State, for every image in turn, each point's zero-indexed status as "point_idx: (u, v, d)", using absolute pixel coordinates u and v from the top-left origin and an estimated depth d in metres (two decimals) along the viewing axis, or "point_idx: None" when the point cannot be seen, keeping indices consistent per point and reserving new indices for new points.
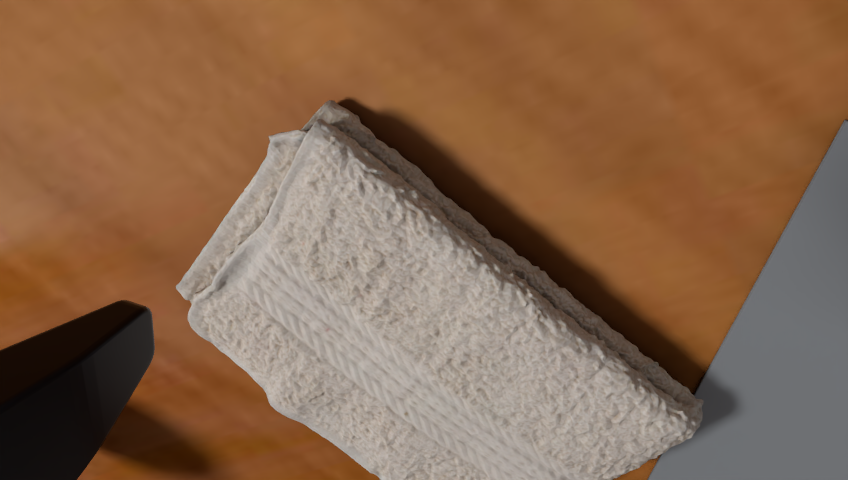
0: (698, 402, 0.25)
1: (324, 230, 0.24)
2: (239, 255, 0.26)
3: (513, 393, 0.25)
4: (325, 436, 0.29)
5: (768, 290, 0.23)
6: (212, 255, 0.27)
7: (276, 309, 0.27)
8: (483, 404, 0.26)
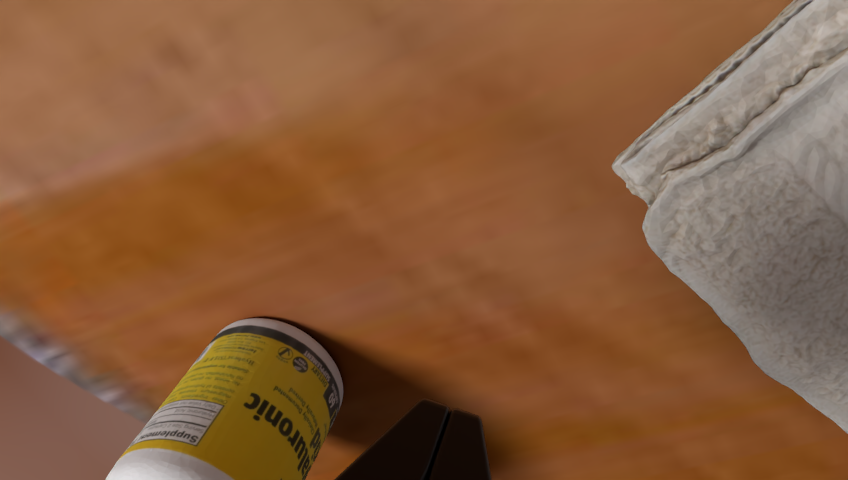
0: None
1: None
2: (819, 87, 0.14)
3: None
4: (829, 413, 0.18)
5: None
6: (734, 97, 0.15)
7: (842, 191, 0.15)
8: None
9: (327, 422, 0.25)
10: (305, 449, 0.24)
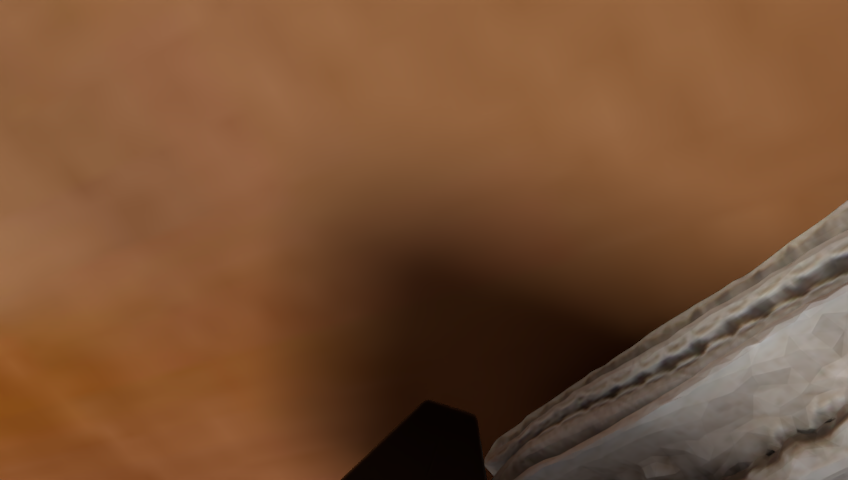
0: None
1: None
2: None
3: None
4: None
5: None
6: (688, 431, 0.08)
7: None
8: None
9: None
10: None
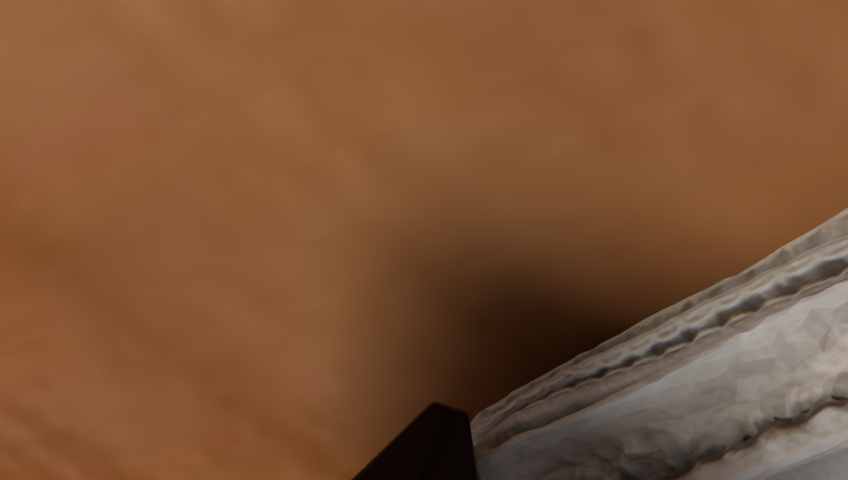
0: None
1: None
2: (841, 451, 0.07)
3: None
4: None
5: None
6: (672, 411, 0.08)
7: None
8: None
9: None
10: None
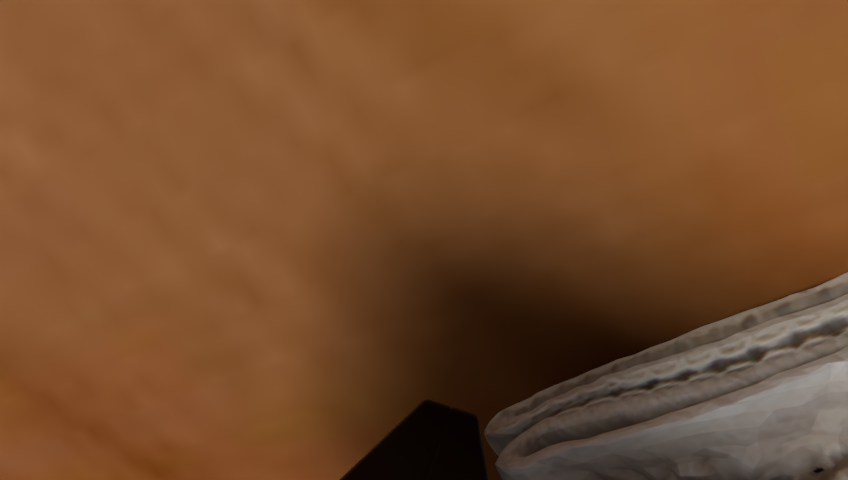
0: None
1: None
2: None
3: None
4: None
5: None
6: (741, 436, 0.07)
7: None
8: None
9: None
10: None
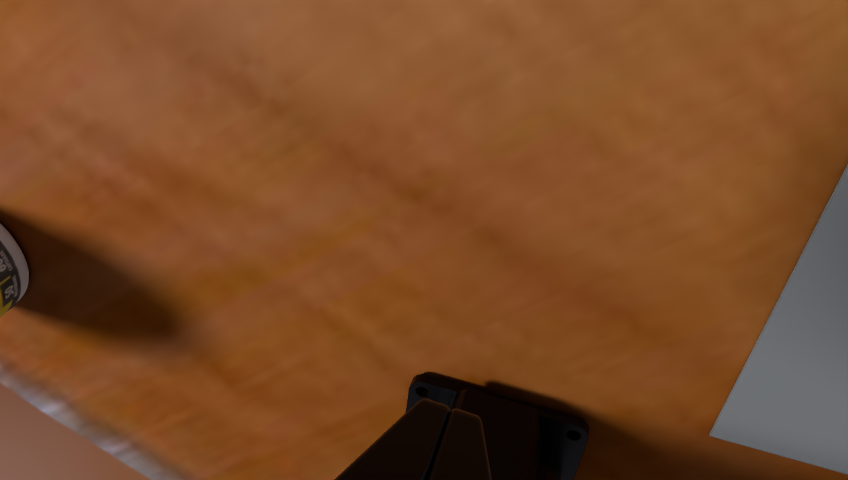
0: None
1: None
2: None
3: None
4: None
5: None
6: None
7: None
8: None
9: None
10: None
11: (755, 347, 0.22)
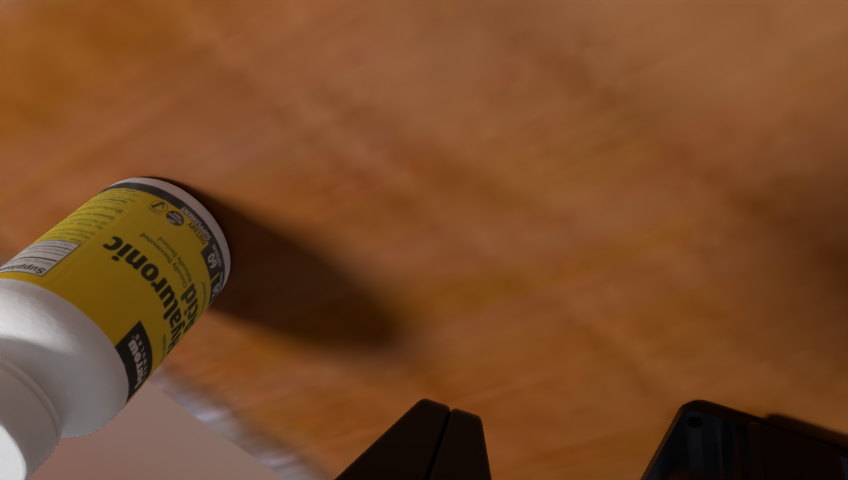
0: None
1: None
2: None
3: None
4: None
5: None
6: None
7: None
8: None
9: (206, 282, 0.24)
10: (173, 300, 0.22)
11: None
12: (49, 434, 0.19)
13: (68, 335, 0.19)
